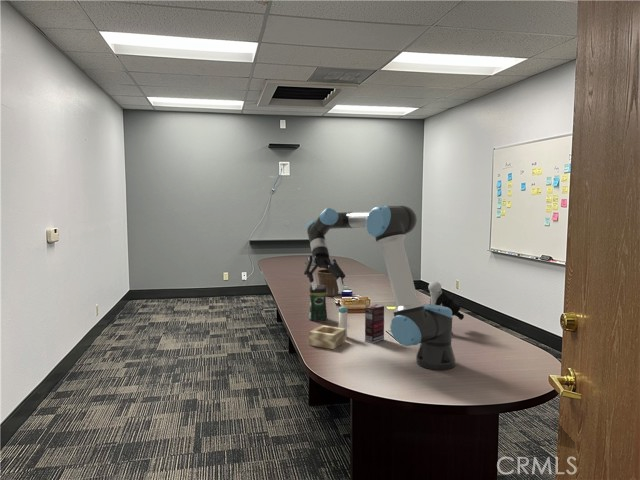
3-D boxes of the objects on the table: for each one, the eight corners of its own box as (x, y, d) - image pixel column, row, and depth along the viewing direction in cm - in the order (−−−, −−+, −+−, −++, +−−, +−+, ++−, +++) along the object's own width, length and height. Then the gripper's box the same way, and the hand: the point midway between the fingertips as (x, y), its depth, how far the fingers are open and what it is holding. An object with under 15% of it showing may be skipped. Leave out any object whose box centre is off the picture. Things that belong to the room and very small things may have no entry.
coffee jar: (325, 317, 254) (325, 283, 252) (327, 320, 246) (328, 286, 245) (308, 317, 253) (308, 283, 251) (309, 321, 245) (309, 286, 243)
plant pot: (328, 298, 301) (328, 273, 299) (311, 294, 313) (311, 270, 311) (346, 295, 312) (346, 271, 310) (329, 291, 324) (329, 268, 322)
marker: (348, 336, 219) (348, 307, 218) (344, 338, 216) (345, 308, 215) (340, 335, 221) (341, 306, 220) (337, 337, 218) (337, 307, 216)
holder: (345, 341, 211) (345, 328, 211) (333, 349, 201) (333, 335, 200) (321, 337, 217) (321, 325, 216) (309, 344, 206) (309, 331, 206)
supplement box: (376, 337, 218) (376, 304, 217) (384, 339, 215) (385, 305, 213) (364, 341, 212) (364, 307, 211) (372, 343, 209) (373, 308, 207)
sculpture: (413, 329, 232) (414, 279, 230) (453, 325, 240) (454, 277, 238) (430, 338, 218) (431, 285, 215) (472, 333, 226) (474, 282, 223)
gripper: (338, 258, 224) (348, 296, 212) (292, 251, 212) (299, 291, 200) (346, 249, 219) (356, 288, 207) (299, 241, 207) (307, 282, 195)
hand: (328, 289), depth 203 cm, fingers open, 13 cm apart
